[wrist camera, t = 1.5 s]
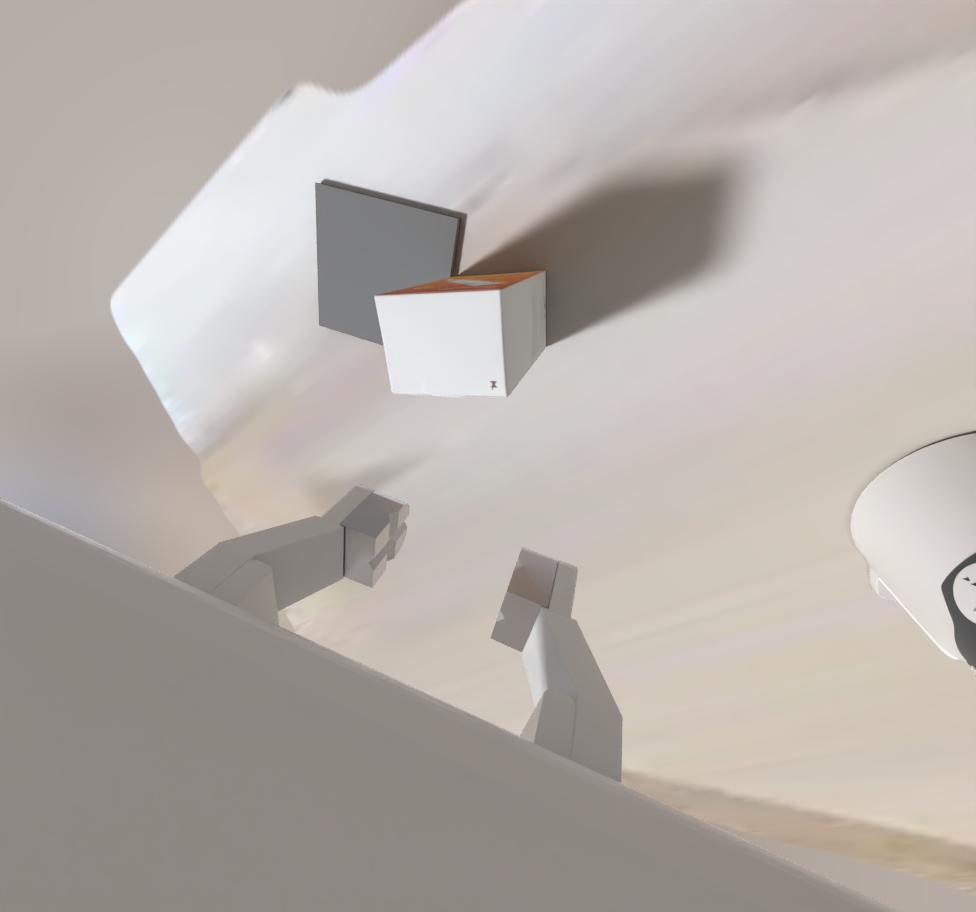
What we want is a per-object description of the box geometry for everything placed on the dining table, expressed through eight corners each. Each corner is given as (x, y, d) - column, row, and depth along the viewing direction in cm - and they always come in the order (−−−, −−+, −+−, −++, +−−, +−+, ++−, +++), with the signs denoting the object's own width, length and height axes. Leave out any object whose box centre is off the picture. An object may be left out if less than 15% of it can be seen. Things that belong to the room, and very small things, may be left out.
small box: (546, 268, 32) (503, 287, 21) (547, 348, 35) (509, 401, 24) (452, 274, 34) (370, 294, 23) (460, 348, 37) (390, 396, 26)
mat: (460, 218, 32) (458, 218, 32) (440, 361, 38) (438, 362, 38) (319, 183, 34) (315, 182, 34) (323, 324, 40) (319, 325, 40)
